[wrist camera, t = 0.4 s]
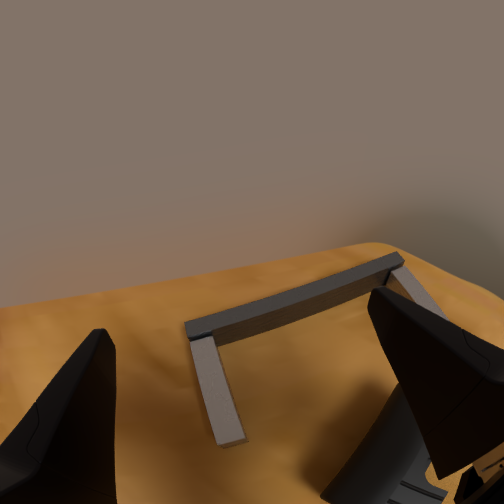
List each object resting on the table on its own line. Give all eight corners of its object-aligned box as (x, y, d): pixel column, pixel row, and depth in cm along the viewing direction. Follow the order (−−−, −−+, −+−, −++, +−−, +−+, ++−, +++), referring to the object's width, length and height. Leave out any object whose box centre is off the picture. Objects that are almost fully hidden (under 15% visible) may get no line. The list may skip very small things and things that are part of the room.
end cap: (383, 395, 19) (415, 363, 14) (445, 427, 15) (490, 403, 11) (312, 493, 14) (326, 501, 9) (383, 528, 10) (421, 540, 6)
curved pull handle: (445, 344, 21) (459, 327, 19) (224, 448, 17) (216, 444, 15) (389, 270, 28) (396, 251, 26) (193, 339, 25) (184, 322, 23)
